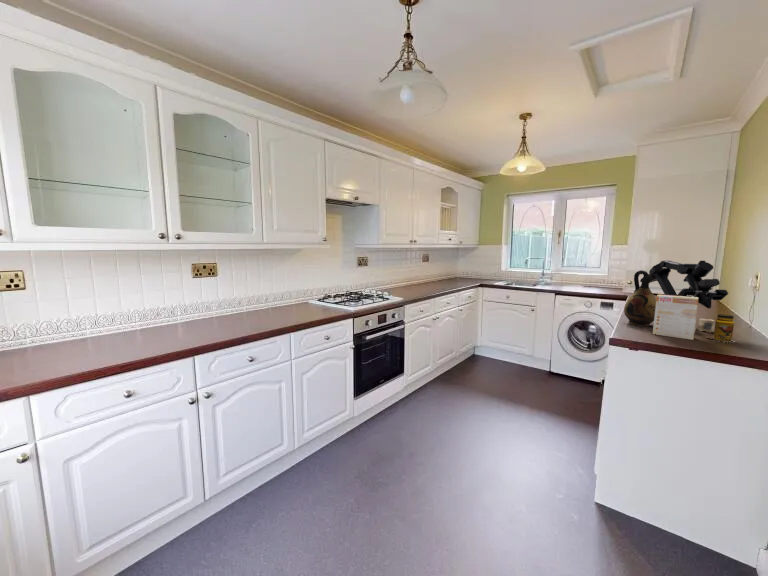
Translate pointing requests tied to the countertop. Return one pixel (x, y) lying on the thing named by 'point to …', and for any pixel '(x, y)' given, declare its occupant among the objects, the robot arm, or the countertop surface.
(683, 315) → the coffeecake box
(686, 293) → the robot arm
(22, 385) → the countertop surface
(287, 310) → the countertop surface
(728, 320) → the condiment
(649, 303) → the ceramic jug
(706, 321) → the beech block
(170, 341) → the countertop surface
